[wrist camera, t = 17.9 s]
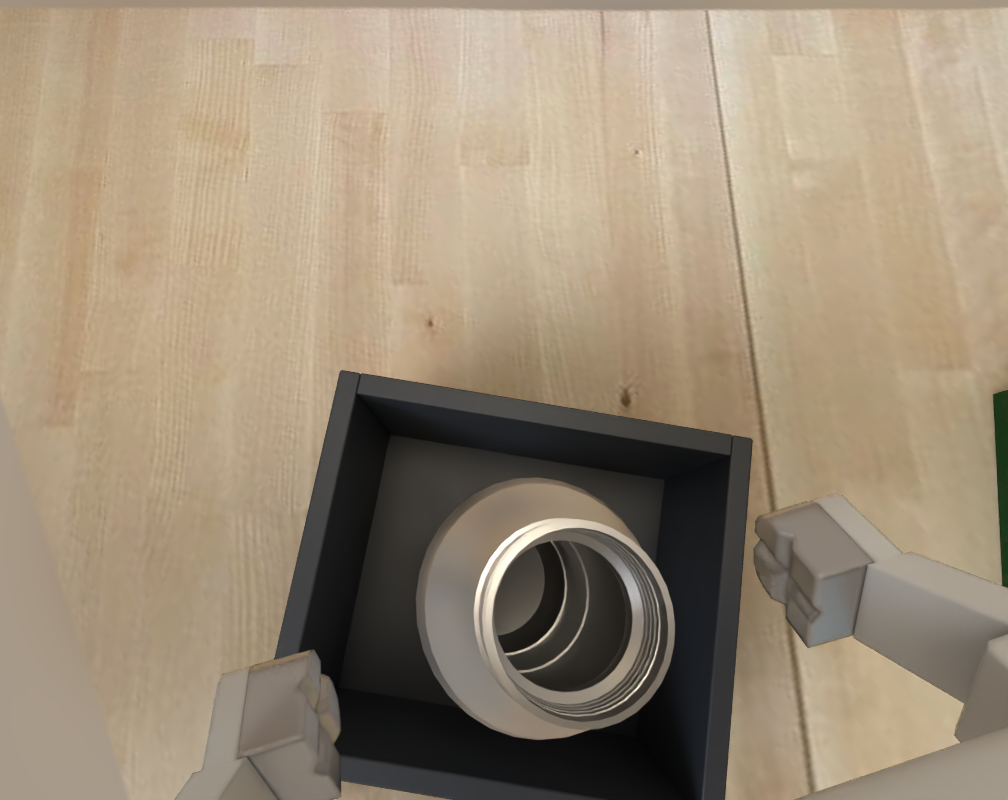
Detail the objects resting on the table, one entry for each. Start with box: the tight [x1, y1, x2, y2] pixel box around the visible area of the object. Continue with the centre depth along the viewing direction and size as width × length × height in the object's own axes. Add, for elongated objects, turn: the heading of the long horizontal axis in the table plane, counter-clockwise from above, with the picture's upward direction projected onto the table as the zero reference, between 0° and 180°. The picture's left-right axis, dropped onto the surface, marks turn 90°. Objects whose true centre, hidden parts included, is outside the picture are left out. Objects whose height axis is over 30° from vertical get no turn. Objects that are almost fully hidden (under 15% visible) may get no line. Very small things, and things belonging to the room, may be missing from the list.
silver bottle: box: [416, 478, 675, 740], centre depth 22 cm, size 6×7×20 cm
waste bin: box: [274, 370, 753, 800], centre depth 27 cm, size 16×14×10 cm
